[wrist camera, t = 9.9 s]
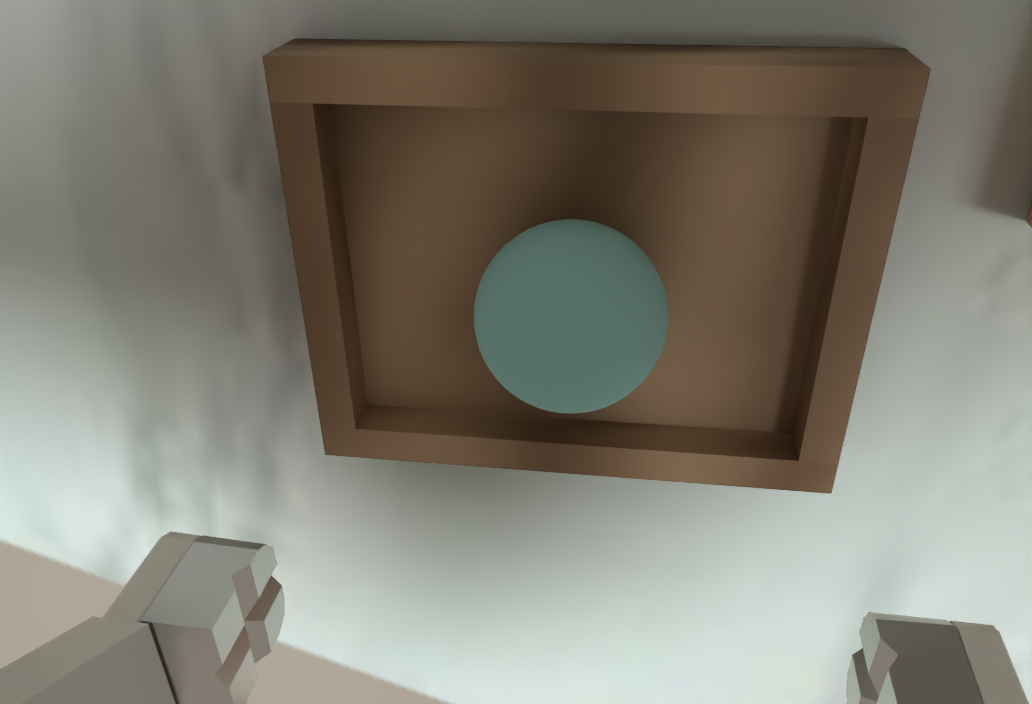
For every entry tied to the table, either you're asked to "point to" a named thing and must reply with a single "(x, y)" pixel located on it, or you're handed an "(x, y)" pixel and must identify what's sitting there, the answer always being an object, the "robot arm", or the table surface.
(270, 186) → the table surface
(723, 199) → the tray
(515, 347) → the ball
